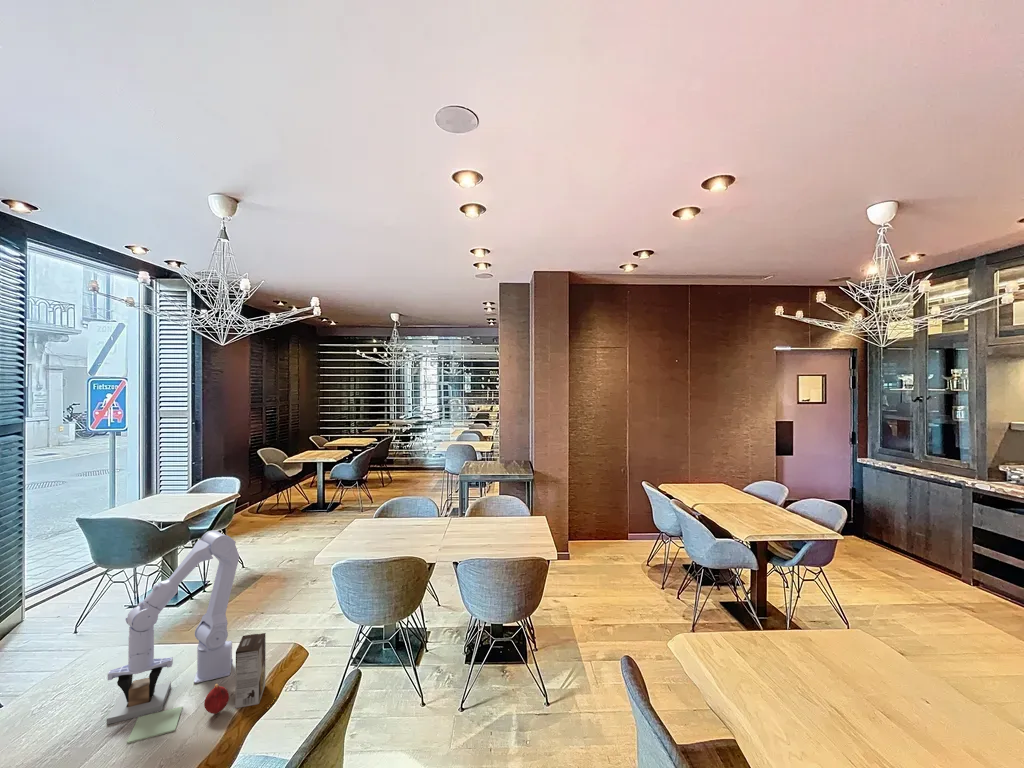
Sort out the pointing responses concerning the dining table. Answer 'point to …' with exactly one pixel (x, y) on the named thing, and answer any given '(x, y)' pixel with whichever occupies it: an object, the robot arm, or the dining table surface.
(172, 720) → the felt mat
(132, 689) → the walnut block
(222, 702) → the onion
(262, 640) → the coffee box
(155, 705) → the pocket board
